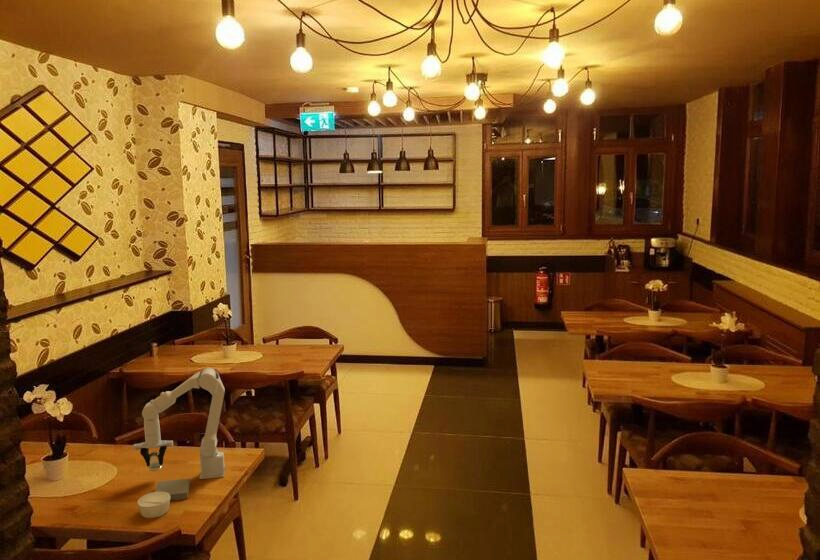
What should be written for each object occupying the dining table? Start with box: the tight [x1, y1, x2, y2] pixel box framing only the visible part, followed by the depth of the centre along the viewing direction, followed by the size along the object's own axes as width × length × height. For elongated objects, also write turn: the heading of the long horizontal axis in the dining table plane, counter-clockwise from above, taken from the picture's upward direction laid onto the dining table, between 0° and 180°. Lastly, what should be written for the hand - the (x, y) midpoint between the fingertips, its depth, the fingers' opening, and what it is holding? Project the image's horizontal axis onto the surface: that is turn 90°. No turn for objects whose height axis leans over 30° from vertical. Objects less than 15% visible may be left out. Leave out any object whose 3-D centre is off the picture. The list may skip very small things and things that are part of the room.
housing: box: [147, 450, 163, 472], centre depth 256 cm, size 5×5×7 cm
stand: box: [154, 477, 192, 502], centre depth 247 cm, size 12×12×2 cm
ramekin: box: [136, 491, 171, 519], centre depth 233 cm, size 11×11×5 cm
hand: (155, 464), depth 257 cm, fingers closed on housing, 4 cm apart
